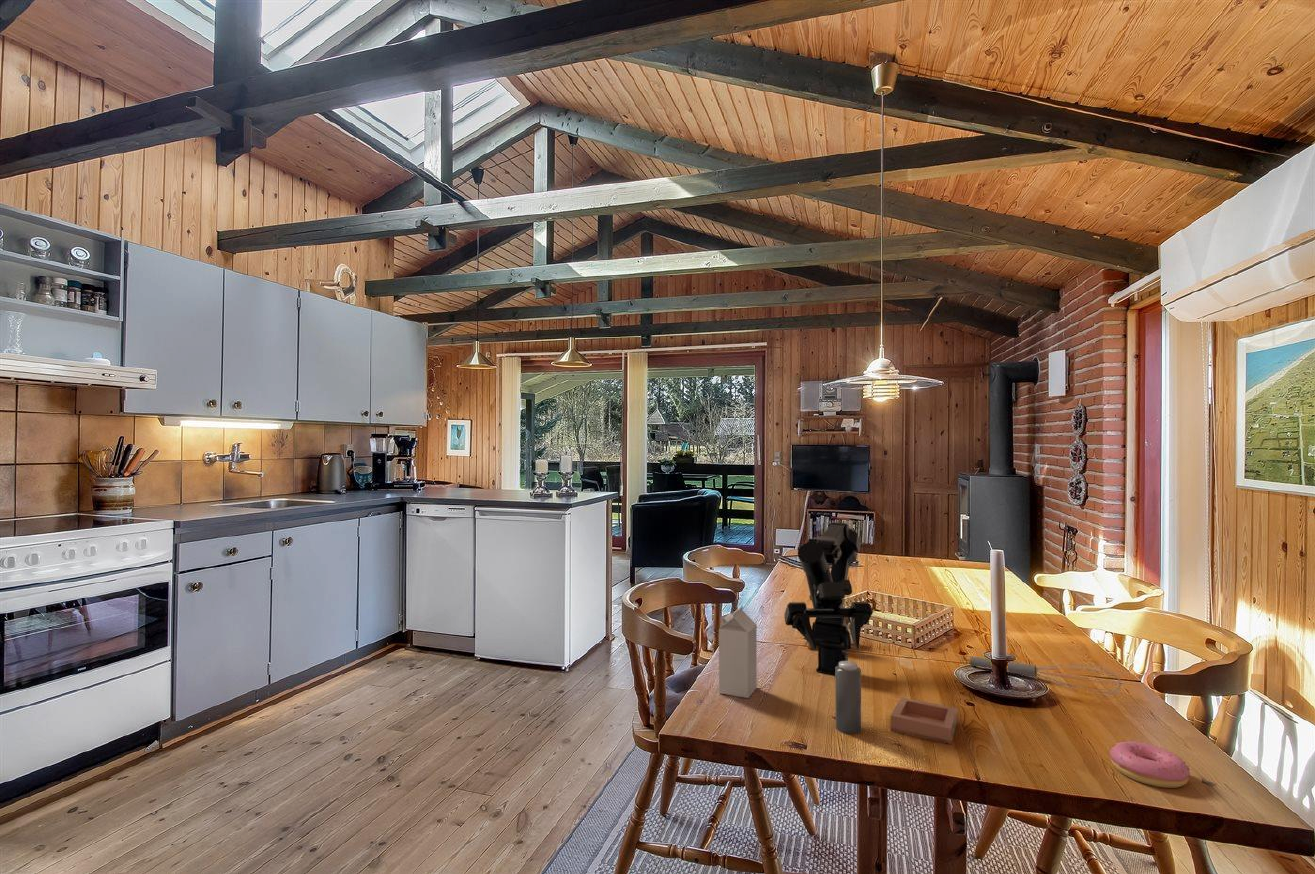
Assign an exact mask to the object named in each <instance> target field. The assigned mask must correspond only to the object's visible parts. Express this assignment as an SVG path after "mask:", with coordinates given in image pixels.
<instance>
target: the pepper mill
mask: <svg viewBox="0 0 1315 874" xmlns="http://www.w3.org/2000/svg"><path fill="white" fill-rule="evenodd" d="M834 677H835V679H834V681H835V682H834V684H835V687H834V688H835V693H834V695H835V696H834V697H835V698H834V699H835V704H834V705H835V729H836V730H837V731H838V732H840V733H842V734H846V735H858V734H860V733H862V669H861V668H860V667H858V663H857V662H854V661H851V660H848V661H840V662H839V665H837V666H836V667H835V675H834Z"/></svg>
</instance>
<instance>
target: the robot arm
mask: <svg viewBox="0 0 1315 874" xmlns="http://www.w3.org/2000/svg"><path fill="white" fill-rule="evenodd" d="M860 551H861V540H860V537H859V533H857V532H856V531H855V530H853V529H851V527H850V525H849V524H848V523H846V522H835V521H832V522H829V523H828V527H827V528H826V530H825V531H824V532H823V534H822V535H821V536H816V537H815V536H814V537H812V538H808V542H805V543H803V544H801V546H800V547H799V548H798V549H797V557H798V559H799V562H800V564H801V567H802V570H803V573H805V577H806V582H807V586H808V590H809V601H811V603H812V607H810V608H808V607H807V604H806V602H804V601H801V602H798V601H797V602H794V601H793V602H792V601H791V602H790V601H789V602H788V604H787V605H786V608H785V611H784V621H785V625H786V626H791V628H792V629H796V630H797V632H799V633H800V634H801V635H802V636H803V638H804V639H805V640H806V641H807V643H808V644H810V646H811V647H812V648H813V649H812V650H813V651H816V650H817V652H818V653H817V660H818V661H817V666H818V667H816V669H815V671H816V672H818V673H823V674H828V675H833V676H835V667H836V666H837V665H839V662H840V661H849V657H848V656H849V654H848V652H847V651H850V650H852V642H853V646H854V648H855V650H856V651H857V650H859V648H860V639H861V638H860V637H861V628H863V627H864V626H865V625H867V624H868V623H869V620H870V619H871V617H872V615H873V613H874V611H873V608H872V605H871V604H870V603H869V602H867V601H852V602H851V604H850V606H849V608H848V607H847V608H844V602H845V598H846V596H850V595H852V593H853V587H852V586H853V585H852V583H851V580H850V579H848V576H849V568H850V566H852V565H853V564H854V563H855V562H856V561H857V557H858V553H860ZM829 565H831V567H829ZM830 568H831V569H830ZM844 617H848V620H849V624H848V626H847V624H846V621H845V618H844ZM811 618H815V620H814V621H813V622H812V625H811V620H810V619H811ZM816 646H818V649H816Z"/></svg>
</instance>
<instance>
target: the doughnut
mask: <svg viewBox="0 0 1315 874" xmlns="http://www.w3.org/2000/svg"><path fill="white" fill-rule="evenodd" d="M1108 756H1109V757H1110V760H1111V763H1112V764H1113V767H1115V768H1116V769H1117V770H1118V772H1120V773H1122V774H1123V775H1125V776H1126V777H1128V778H1130V779H1132V780H1135V781H1136V782H1139V783H1142V784H1143V785H1144V784H1145V785H1148V786H1151V787H1152V786H1153V787H1157V788H1166V789H1172V788H1173V789H1174V788H1180V787H1184V786H1185V785H1186V784H1187V783H1188V782H1189V780H1190V779H1189V777H1190V776H1191V772H1190V768H1189V765H1187V764H1186V761H1184V760H1183V759H1182V758H1180V756H1178V755H1177V754H1175V753H1173V752H1171V751H1169V750H1167V749H1165V748H1163V747H1159V746H1157V745H1154V744H1150V743H1148V742H1147V743H1146V742H1145V743H1144V742H1142V741H1140V742H1138V741H1132V740H1131V741H1125V740H1123V741H1121V742H1116V744H1114V745H1112V747H1111V748H1110V752H1109V754H1108Z"/></svg>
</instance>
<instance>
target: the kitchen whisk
mask: <svg viewBox="0 0 1315 874" xmlns="http://www.w3.org/2000/svg"><path fill="white" fill-rule="evenodd" d="M967 657H970V658H969V665H970V666H971V667H972V666H981V667H989V668H991V661H990V659H991V658H985V657H978V656H974V657H973V656H972V655H971V656H970V655H966V656H964V657H963V658H962V659H961V661H962V664H964V665H965V666H967V667H968V666H969V665H968V664H966V663H964V661H963V660H964V658H967ZM1008 662H1009V664H1008V670H1009V672H1010V673H1009V674H1014V673H1018V674H1017V675H1020V674H1022V675H1021V676H1027V677H1035V678H1036V677H1037V676H1038V677H1040V678H1043V679H1045V680H1046V681H1047V680H1048V681H1050V682H1052V683H1055V684H1057V685H1060V686H1062V687H1066V688H1068V689H1071V690H1076V691H1077V689H1075V688H1078V687H1079V688H1083V689H1087V690H1095V691H1098V689H1097V688H1089V687H1086V686H1080V685H1076V684H1072V683H1068V682H1065V681H1061V680H1059V679H1055V678H1052V677H1048V676H1046V675H1049V674H1050V675H1051V676H1058V677H1063V678H1068V679H1069V678H1070V679H1072V676H1073V679H1076V680H1078V678H1077V677H1080V678H1079V680H1080V681H1086V682H1091V679H1095V681H1094V680H1092V682H1094V683H1097V678H1095V677H1091V679H1090V677H1089V676H1084V678H1086V679H1083V676H1081V675H1077V677H1076V675H1074V674H1073V675H1072V674H1070V676H1071V677H1069V676H1068V674H1066V673H1062V675H1061V673H1058V672H1054V673H1052V672H1050V671H1046V672H1044V671H1042V670H1044V666H1039V667H1037V666H1036V665H1033V664H1027V663H1020V662H1019V663H1018V662H1013V661H1008ZM1069 666H1077V668H1070V670H1073V671H1083V669H1086V671H1087V672H1094V670H1095V668H1092V667H1094V665H1093V664H1088V666H1091V667H1089V669H1088V667H1086V666H1085V667H1084V666H1082V664H1077V663H1076V664H1072V663H1071V664H1069ZM1059 667H1063V664H1057V665H1054V666H1052V665H1047V666H1045V668H1047V669H1059ZM1096 667H1097V668H1096V670H1095V672H1096V673H1103V674H1107V675H1109V676H1110V675H1111V676H1113V677H1115V678H1116V679H1117V680H1118V681H1114V680H1108V679H1104V681H1106V682H1105V684H1107V685H1112V683H1114V685H1115V686H1118V688H1115V689H1100V691H1101V692H1102V694H1101V696H1102V697H1107V696H1112V695H1115V694H1116V693H1117V692H1119V690H1121V686H1122V684H1123V683H1122V680H1121V679H1120V678H1119V676H1118V675H1117V674H1116V673H1115V672H1114V671H1112V670H1110V669H1109V668H1106V667H1102V666H1099V665H1096ZM1099 668H1101V669H1099ZM1090 669H1091V670H1090ZM1103 669H1105V670H1103ZM1106 670H1107V671H1106ZM1108 671H1109V672H1108ZM1111 672H1112V673H1111ZM1040 673H1041V674H1040ZM1043 674H1046V675H1043ZM1088 679H1090V680H1088ZM1098 680H1099V681H1098V683H1101V684H1104V682H1103V679H1102V678H1098ZM1100 680H1101V681H1100ZM1109 682H1110V683H1109ZM1063 684H1064V685H1063ZM1066 685H1067V686H1066ZM1068 686H1069V687H1068ZM1071 687H1074V688H1071ZM1112 692H1113V693H1112ZM1103 693H1104V694H1103ZM1108 693H1110V694H1108Z"/></svg>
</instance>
